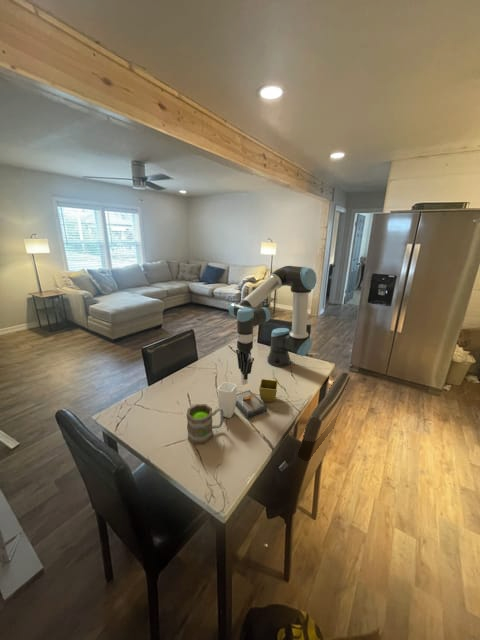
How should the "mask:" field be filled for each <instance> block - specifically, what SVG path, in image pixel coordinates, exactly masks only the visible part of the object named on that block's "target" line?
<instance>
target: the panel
mask: <svg viewBox="0 0 480 640" xmlns="http://www.w3.org/2000/svg"><path fill="white" fill-rule="evenodd" d="M251 394H254V393H253V392H252V391H251V390H250V389H249V390H246V391H243V392H239V393H236V406H235V408H237V410H239V412H240V413H241V414H242V415H243V416H244V417H245V418H246V420H250V419H253V418H255V417H257V416H259V415H263V414H265V413H267V412H268V406H267V404H265V403H264V401H262V399H261V398H259V397H258V396H256V395H255V397H252V398H250V399H245V400H243V399H242V397H245V396H247V395H251Z"/></svg>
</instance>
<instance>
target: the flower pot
mask: <svg viewBox="0 0 480 640" xmlns="http://www.w3.org/2000/svg"><path fill="white" fill-rule="evenodd" d="M259 384H260V385H259V388H258V389H259V397H260V400H261V401H262V402H268V403H273V402H274V400H276V398H277V397H276V396H277V392H278V391H277V390H278V384H279V382H278V380H274V379H273V380H272V379H266V378H261V379H260V383H259Z"/></svg>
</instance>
